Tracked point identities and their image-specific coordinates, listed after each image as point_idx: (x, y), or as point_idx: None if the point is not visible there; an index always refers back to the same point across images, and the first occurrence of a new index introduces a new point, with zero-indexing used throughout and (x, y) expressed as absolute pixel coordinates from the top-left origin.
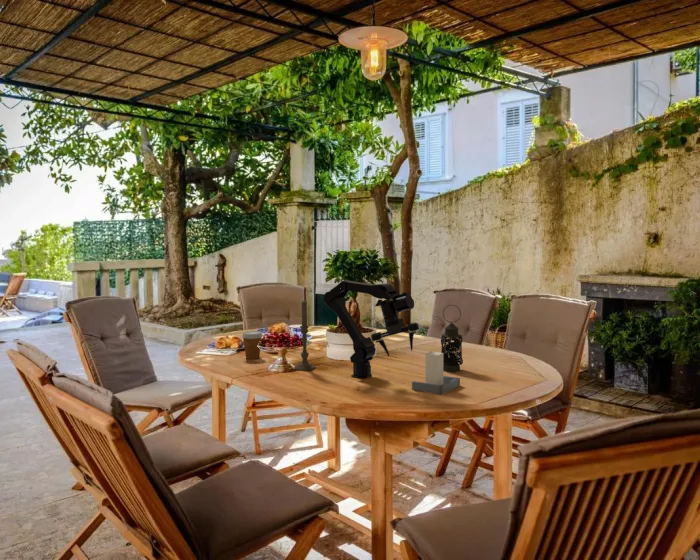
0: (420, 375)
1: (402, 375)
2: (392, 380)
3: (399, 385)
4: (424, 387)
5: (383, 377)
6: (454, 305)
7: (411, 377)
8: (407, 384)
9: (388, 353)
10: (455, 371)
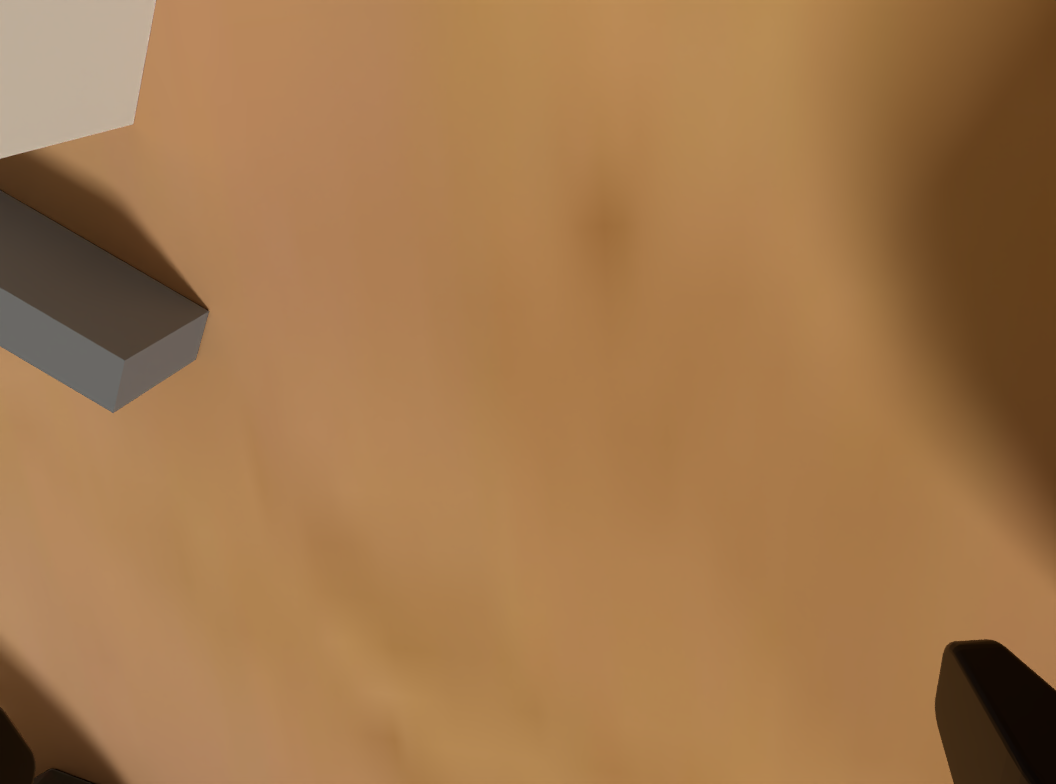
0: (384, 686)
1: (640, 718)
2: (819, 431)
3: (678, 35)
4: None
5: None
6: None
7: (495, 599)
8: (522, 138)
9: (1019, 737)
10: (42, 774)
